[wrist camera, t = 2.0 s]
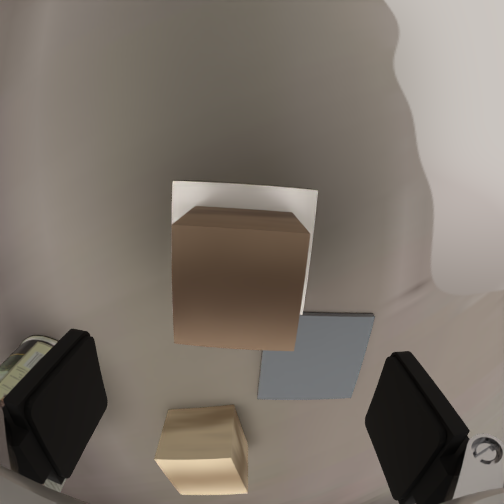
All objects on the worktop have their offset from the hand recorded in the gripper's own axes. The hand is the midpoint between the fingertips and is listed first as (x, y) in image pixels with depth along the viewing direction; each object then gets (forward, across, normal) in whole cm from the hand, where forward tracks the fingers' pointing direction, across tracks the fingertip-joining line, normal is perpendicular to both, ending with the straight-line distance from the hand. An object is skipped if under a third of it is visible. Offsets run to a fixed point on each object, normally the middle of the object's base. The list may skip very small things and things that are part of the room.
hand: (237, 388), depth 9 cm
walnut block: (+12, 0, -1) cm, 12 cm away
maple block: (+13, +2, +16) cm, 21 cm away
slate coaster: (+12, -6, +7) cm, 15 cm away
